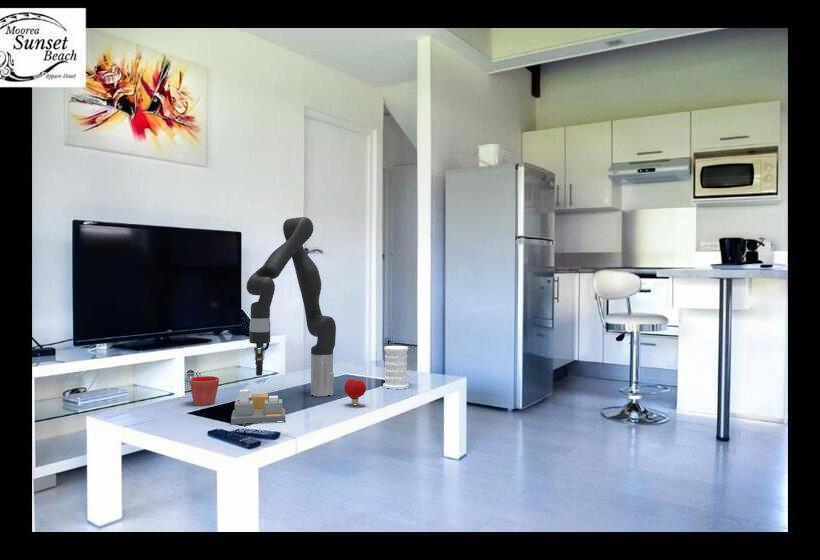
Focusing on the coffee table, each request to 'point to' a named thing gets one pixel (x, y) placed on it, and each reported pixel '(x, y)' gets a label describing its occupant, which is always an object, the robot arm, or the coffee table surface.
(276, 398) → the block
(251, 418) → the breaker panel
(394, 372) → the decorative container
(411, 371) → the coffee table surface
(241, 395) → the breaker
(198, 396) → the flower pot
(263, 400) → the orange wooden cube
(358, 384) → the light bulb
